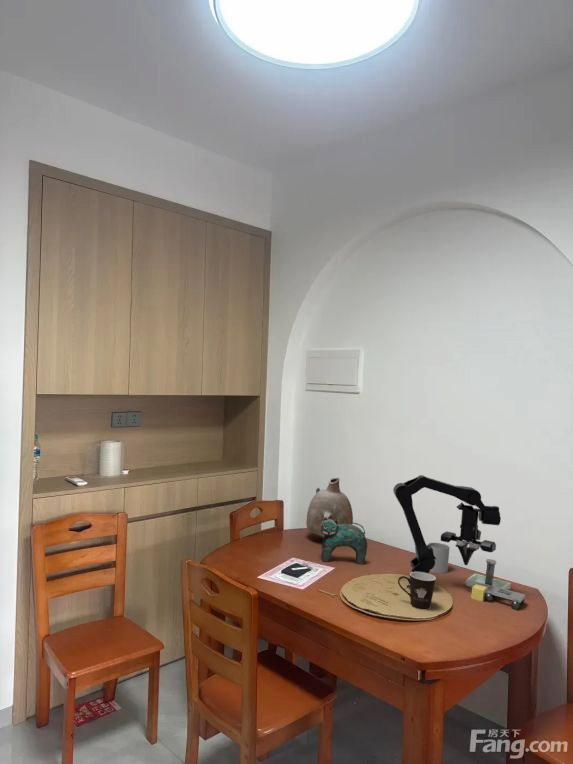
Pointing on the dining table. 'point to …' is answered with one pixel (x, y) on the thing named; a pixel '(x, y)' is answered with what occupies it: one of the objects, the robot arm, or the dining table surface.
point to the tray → (481, 581)
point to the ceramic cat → (342, 539)
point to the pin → (490, 571)
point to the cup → (440, 557)
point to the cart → (505, 595)
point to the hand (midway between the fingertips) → (466, 564)
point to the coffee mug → (420, 589)
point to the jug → (328, 507)
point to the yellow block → (478, 592)
